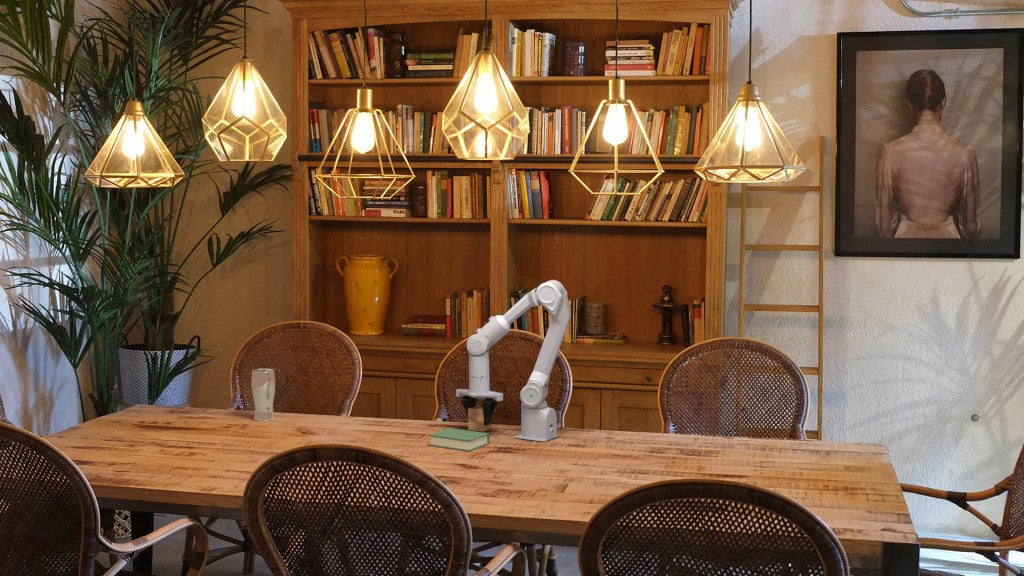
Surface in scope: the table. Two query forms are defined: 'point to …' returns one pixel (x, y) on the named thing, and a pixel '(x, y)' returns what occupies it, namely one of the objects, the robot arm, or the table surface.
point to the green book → (459, 439)
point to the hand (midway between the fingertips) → (479, 423)
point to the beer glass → (263, 393)
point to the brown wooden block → (477, 419)
